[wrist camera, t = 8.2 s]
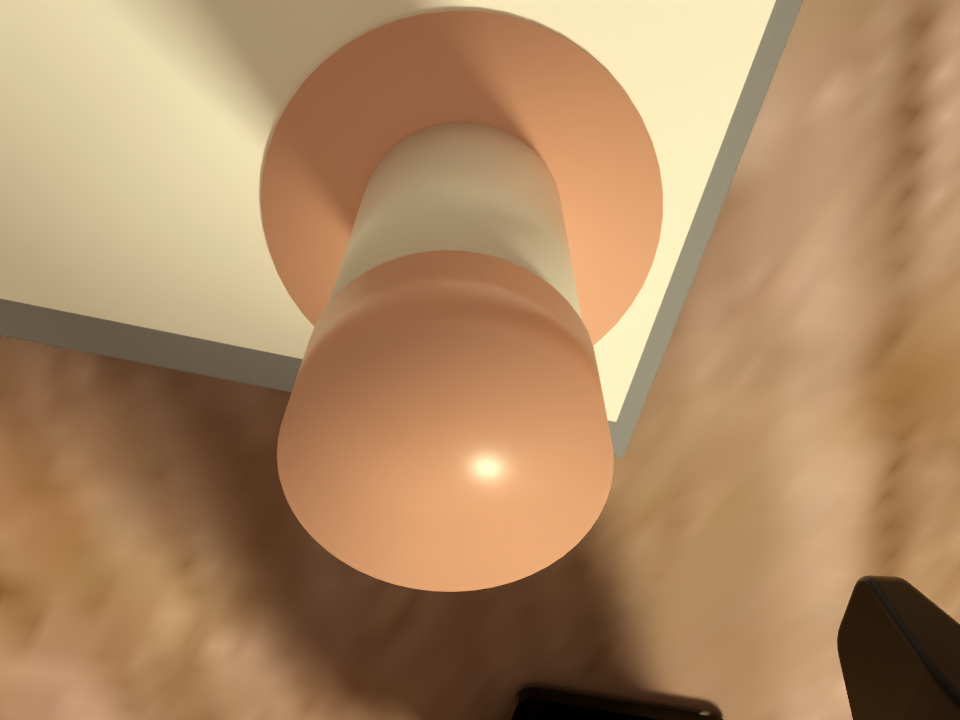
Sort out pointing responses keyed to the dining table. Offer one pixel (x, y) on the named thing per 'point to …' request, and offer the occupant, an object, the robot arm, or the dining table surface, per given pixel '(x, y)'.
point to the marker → (450, 376)
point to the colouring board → (351, 159)
